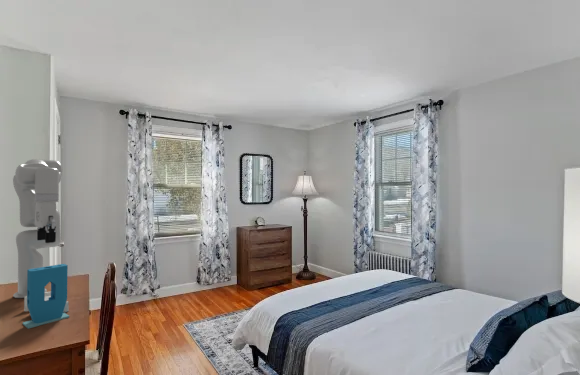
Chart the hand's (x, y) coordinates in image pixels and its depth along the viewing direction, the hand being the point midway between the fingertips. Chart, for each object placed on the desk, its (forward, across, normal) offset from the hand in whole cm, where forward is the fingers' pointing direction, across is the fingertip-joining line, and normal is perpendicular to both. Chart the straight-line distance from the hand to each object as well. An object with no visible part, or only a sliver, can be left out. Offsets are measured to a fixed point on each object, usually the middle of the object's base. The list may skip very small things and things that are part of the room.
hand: (46, 241), depth 124 cm
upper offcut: (+28, -5, +2) cm, 28 cm away
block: (+30, +4, 0) cm, 30 cm away
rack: (+31, -8, +3) cm, 32 cm away
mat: (+31, +4, 0) cm, 31 cm away
